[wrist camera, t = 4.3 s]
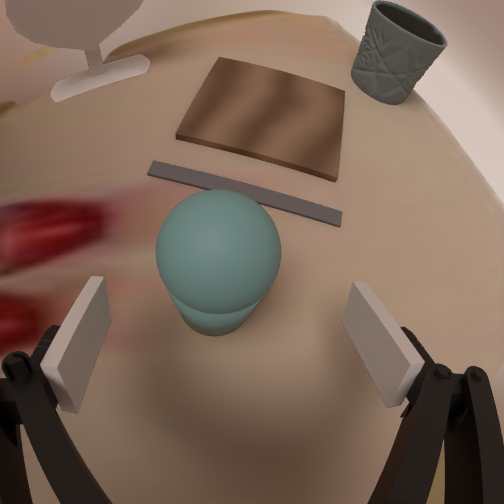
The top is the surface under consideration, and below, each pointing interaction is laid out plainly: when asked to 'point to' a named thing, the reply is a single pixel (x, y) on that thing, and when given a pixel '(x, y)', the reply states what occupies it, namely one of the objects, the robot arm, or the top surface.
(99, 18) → the heart sculpture
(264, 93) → the board
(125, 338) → the top surface
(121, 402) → the top surface
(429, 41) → the grey textured cup
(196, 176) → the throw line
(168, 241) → the teal domed cylinder
